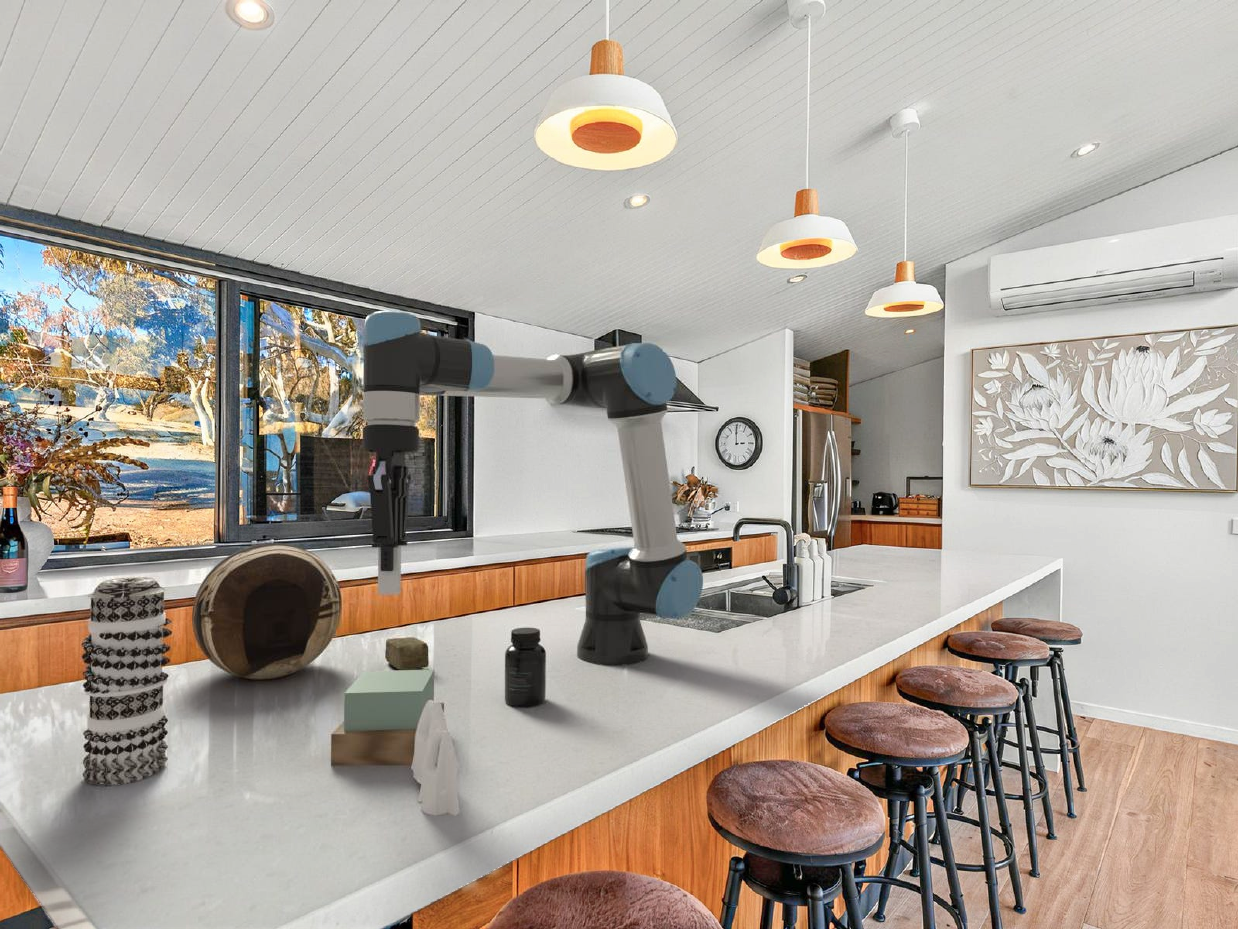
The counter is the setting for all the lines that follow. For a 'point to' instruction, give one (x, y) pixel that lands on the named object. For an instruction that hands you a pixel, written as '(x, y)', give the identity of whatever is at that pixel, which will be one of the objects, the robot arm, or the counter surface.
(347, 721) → the sage top block
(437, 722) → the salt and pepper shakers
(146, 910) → the counter surface
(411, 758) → the walnut base block
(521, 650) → the supplement bottle
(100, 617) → the decorative candle
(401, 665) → the stone block
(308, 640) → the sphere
